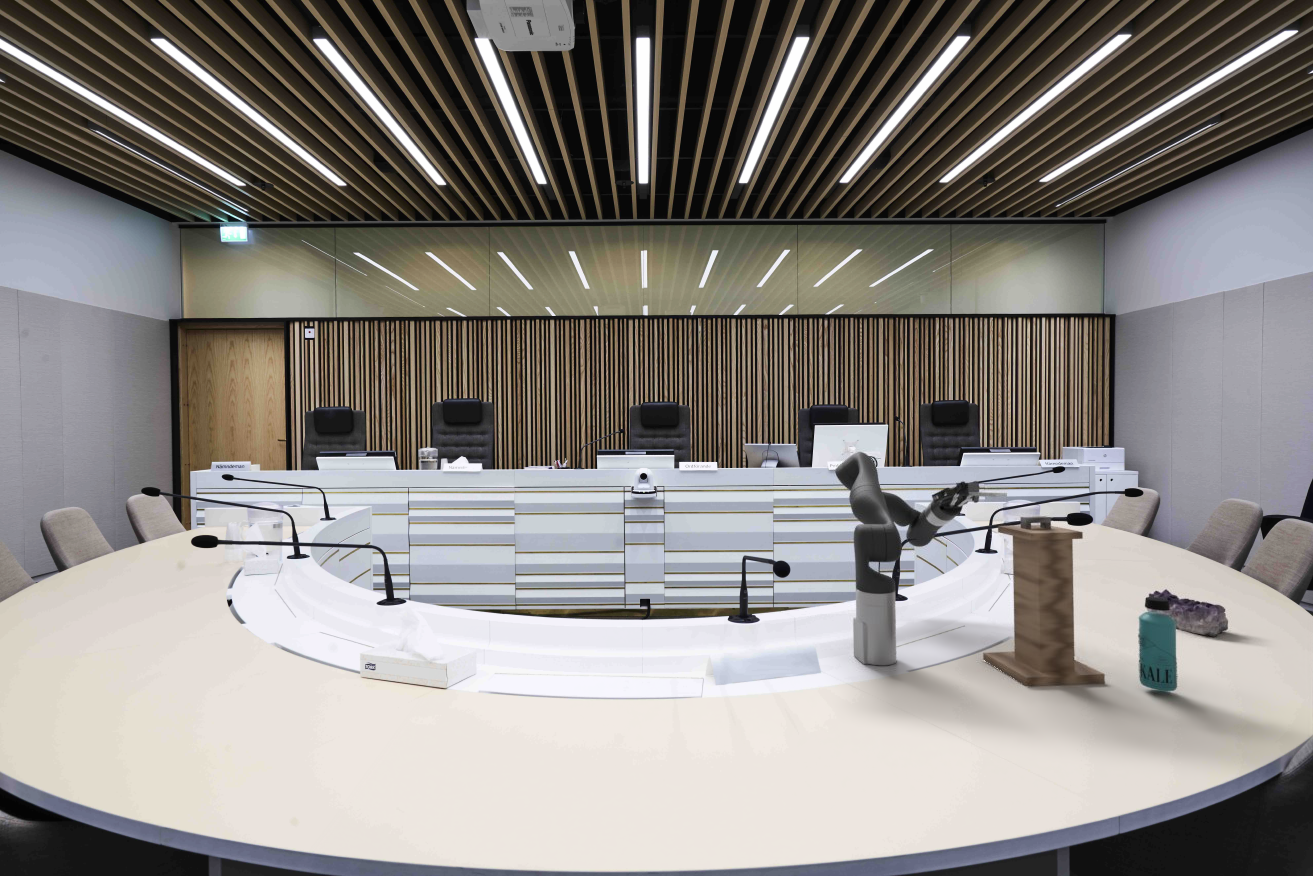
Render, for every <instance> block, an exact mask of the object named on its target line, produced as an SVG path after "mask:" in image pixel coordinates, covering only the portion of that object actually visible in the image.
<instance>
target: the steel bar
mask: <svg viewBox="0 0 1313 876" xmlns="http://www.w3.org/2000/svg"><path fill="white" fill-rule="evenodd" d="M959 483H960V482H956V483H955V485H956V486H957V485H958V484H959ZM965 484H966V489H965V490H964V491H963V492H962V493H961V494H959V495H961V496H979V497H983V498H984V497H985V498H986V497H987V498H1007V497H1008V493H1007V492H989V491H980V488H979V487H980V483H979V482H978V483H973V482H965ZM956 486H955V487H956Z"/></svg>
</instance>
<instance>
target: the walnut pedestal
mask: <svg viewBox="0 0 1313 876" xmlns="http://www.w3.org/2000/svg"><path fill="white" fill-rule="evenodd" d="M997 533H1000V534H1004V535H1008V536H1012V569H1013V570H1012V571H1013V574H1012V575H1013V576H1012V578H1013V580H1012V581H1013V585H1012V587H1013V629H1014V630H1013V632H1014V633H1013V634H1014V635H1013V636H1014V637H1013V640H1014V641H1013V642H1014V643H1013V644H1014V646H1013V647H1014V651H996V652H995V651H992V652H983V653H982V660H985V661H986V662H988V663H990V664H991V665H993V666H995V667H996V668H998V669H999V670H1001V671H1002V672H1001V671H1000V672H1001V673H1003V672H1004V673H1005V675H1006V674H1007V675H1006V676H1008V675H1009V676H1011V677H1012V678H1011V677H1010V678H1011V679H1013V678H1014V679H1015V680H1014V679H1013V680H1014V681H1016V680H1017V682H1018V683H1019V682H1020V683H1019V684H1021V683H1022V684H1021V685H1023V686H1025V687H1026V686H1031V687H1049V686H1050V687H1052V686H1071V685H1072V686H1073V685H1091V684H1092V685H1093V684H1105V683H1106V682H1105V681H1106V678H1105V677H1106V676H1105V675H1106V674H1105V673H1103V672H1101V671H1099V670H1098V669H1095V668H1093V667H1090V666H1088V665H1087V664H1084V663H1083V662H1080V661H1078V660H1076V659H1075V614H1074V611H1075V609H1074V608H1075V607H1074V559H1073V558H1074V553H1073V552H1074V550H1073V543H1074V541H1073V540H1081V539H1083V533H1084V532H1083V531H1079V530H1074V529H1070V528H1063V527H1058V526H1054V525H1052V517H1051V516H1046V515H1045V516H1042V515H1041V516H1037V515H1036V516H1020V525H998V526H997ZM1083 540H1084V539H1083ZM986 662H985V663H986ZM988 663H987V664H988ZM991 665H990V666H991ZM993 666H992V667H993ZM996 668H995V669H996ZM998 669H997V670H998ZM999 670H998V671H999ZM1004 673H1003V674H1004ZM1009 676H1008V677H1009Z"/></svg>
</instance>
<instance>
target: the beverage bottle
mask: <svg viewBox="0 0 1313 876" xmlns="http://www.w3.org/2000/svg"><path fill="white" fill-rule="evenodd" d="M1144 601H1145V603H1144V608H1145V609H1147V608H1149V609H1153V610H1161V611H1167V610H1170V607H1169V601H1168V600H1167V599H1164V598H1159V597H1149V596H1146V597H1145V600H1144ZM1138 623H1139V624H1138V625H1139V626H1138V635H1137V637H1138V644H1139V645H1138V646H1139V648H1138V652H1139V653H1138V658H1139V659H1138V663H1139V670H1138V672H1139V673H1138V677H1139V678H1138V680H1139V681H1140V684H1141V685H1142V686H1144V687H1145V688H1150V689H1153V690H1157V691H1162V692H1164V691H1165V692H1174V691H1176V690H1177V688H1178V679H1179V678H1178V677H1179V676H1178V660H1177V628H1176V621H1175V620H1174V619H1173V618H1172V617H1170V616H1169V615H1167V614H1164V613H1159V612H1148V611H1145V612H1143V613H1141V614H1140V615H1139V617H1138Z"/></svg>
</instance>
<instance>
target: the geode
mask: <svg viewBox="0 0 1313 876" xmlns="http://www.w3.org/2000/svg"><path fill="white" fill-rule="evenodd" d="M1148 597H1159V598H1164V599H1167V600H1168V601H1169V607H1170V610H1167V611H1161V610H1153V609H1149V608H1146V610H1147V612H1159V613H1164V614H1167V615H1169V616H1170V617H1172V618H1173V619H1174V620H1175V621H1176V629H1177V630H1180V631H1182V632H1183V631H1185V632H1189V633H1192V634H1198V635H1204V636H1205V635H1206V636H1208V637H1213V638H1214V637H1216V636H1217V635H1219V633H1222V632H1225V631H1227V630H1228V629H1229V620H1228V618H1227V617H1226V608H1225V607H1224V606H1222V605H1221V604H1213V603H1210V602H1207V601H1199V600H1195V599H1190V598H1180V597H1178V595H1176V594H1173V593H1171V592H1170V591H1169V590H1168V589H1164V590H1163V591H1162V592H1161V591H1158V590H1155V591H1153V593H1148Z"/></svg>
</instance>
